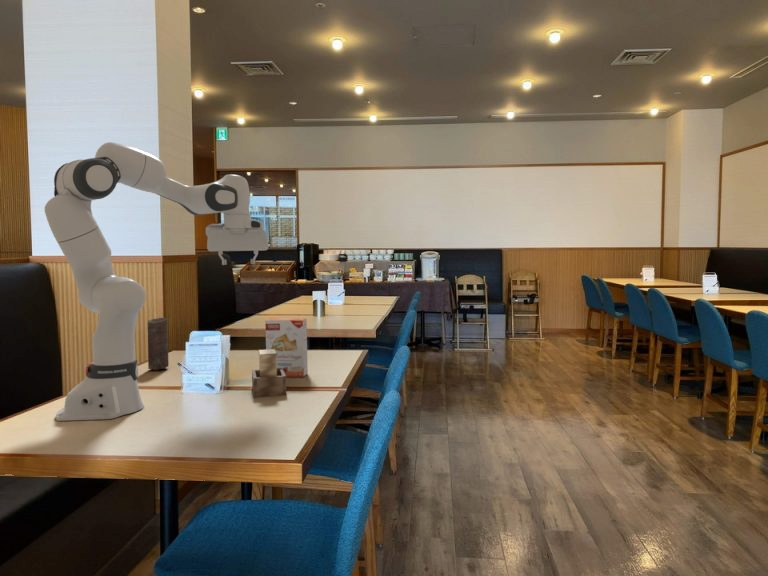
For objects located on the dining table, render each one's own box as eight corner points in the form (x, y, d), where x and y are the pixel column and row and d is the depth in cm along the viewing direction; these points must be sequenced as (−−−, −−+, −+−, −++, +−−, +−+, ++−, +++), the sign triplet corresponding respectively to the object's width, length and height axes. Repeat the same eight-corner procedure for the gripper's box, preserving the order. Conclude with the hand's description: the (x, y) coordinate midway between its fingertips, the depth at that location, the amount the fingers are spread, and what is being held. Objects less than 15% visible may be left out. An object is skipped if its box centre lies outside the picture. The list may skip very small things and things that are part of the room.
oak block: (261, 391, 178) (260, 354, 177) (259, 385, 185) (258, 350, 185) (277, 390, 179) (276, 353, 178) (275, 384, 187) (274, 349, 186)
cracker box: (266, 377, 202) (264, 319, 201) (271, 373, 208) (269, 317, 207) (304, 377, 201) (302, 319, 199) (308, 373, 207) (306, 317, 205)
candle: (173, 368, 219) (171, 318, 218) (156, 372, 213) (154, 320, 212) (160, 366, 223) (158, 317, 222) (144, 370, 217) (142, 319, 216)
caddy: (254, 397, 175) (253, 378, 174) (252, 387, 187) (251, 369, 187) (286, 394, 177) (285, 376, 177) (282, 385, 190) (282, 367, 189)
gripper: (204, 223, 184) (206, 265, 185) (268, 223, 189) (269, 264, 190) (205, 224, 190) (207, 265, 191) (266, 224, 196) (268, 263, 196)
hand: (238, 264), depth 191 cm, fingers open, 8 cm apart
